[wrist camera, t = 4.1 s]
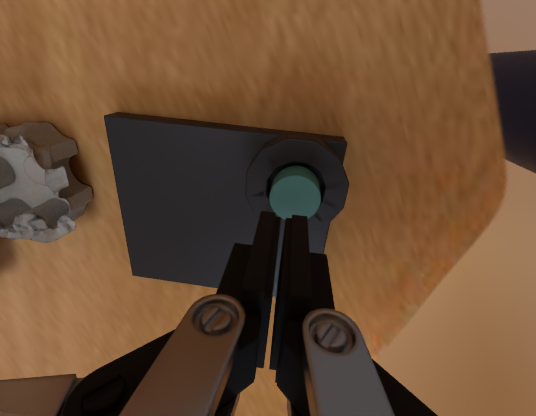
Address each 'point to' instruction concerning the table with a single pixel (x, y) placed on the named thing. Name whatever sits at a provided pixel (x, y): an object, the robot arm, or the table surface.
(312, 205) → the button
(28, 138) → the egg carton
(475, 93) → the table surface
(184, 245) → the scale
